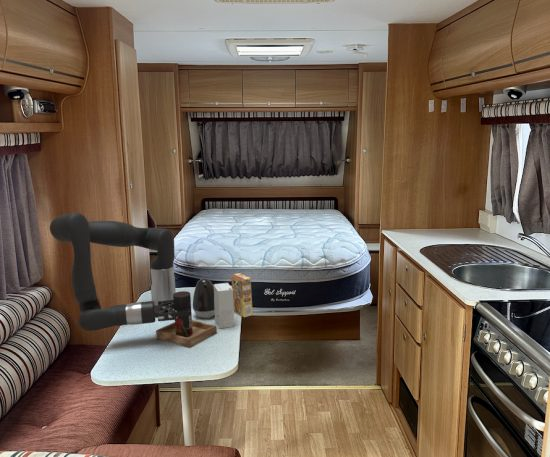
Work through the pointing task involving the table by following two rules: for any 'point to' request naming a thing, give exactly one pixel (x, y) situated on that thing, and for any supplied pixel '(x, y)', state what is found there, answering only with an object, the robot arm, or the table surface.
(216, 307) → the skincare box
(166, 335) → the tray
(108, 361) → the table surface
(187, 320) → the deodorant
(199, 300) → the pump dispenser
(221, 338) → the table surface
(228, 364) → the table surface
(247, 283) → the candy box
